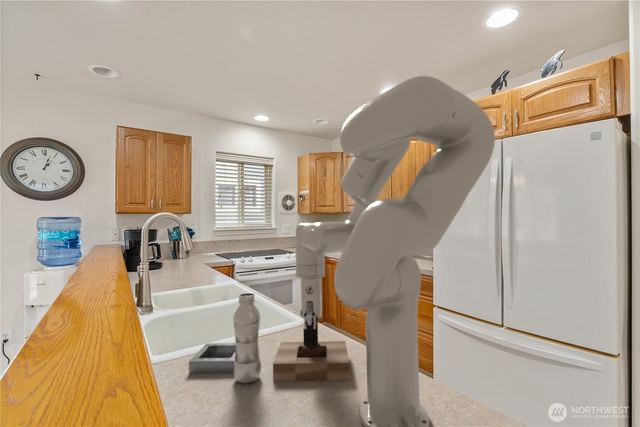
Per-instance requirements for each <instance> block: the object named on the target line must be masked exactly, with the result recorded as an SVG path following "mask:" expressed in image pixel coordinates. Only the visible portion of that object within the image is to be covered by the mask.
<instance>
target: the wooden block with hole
mask: <svg viewBox="0 0 640 427" xmlns="http://www.w3.org/2000/svg"><path fill="white" fill-rule="evenodd" d="M318 344H320V345H321V353H320V355H319V356H318V358H306V356H305V355H304V354H303V346H304V341H280V344H279V345H278V349H277V351H276V355H275V358H274V360H273V363H272V379H273V380H272V381H273V382H289V381H291V382H292V381H293V382H297V381H298V382H300V381H303V382H304V381H305V382H309V381H311V382H312V381H350V380H351V378H350V359H349V354H348V349H347V344H346V341H345V340H343V341H342V340H341V341H340V340H339V341H337V340H335V341H318Z"/></svg>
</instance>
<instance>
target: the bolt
mask: <svg viewBox="0 0 640 427" xmlns="http://www.w3.org/2000/svg"><path fill="white" fill-rule="evenodd" d="M312 308H313V306H312ZM306 315H307V312H306ZM300 316H301V317H302V309H300ZM312 320H313V321H314V319H312ZM318 322H319V317H316V328H317V345H316V346H305V345H304V346H303V354H304V355H305V356H306V358H318V356H319V355H320V353H321V345H320V344H318V342H319V324H318ZM313 326H314V324H313Z"/></svg>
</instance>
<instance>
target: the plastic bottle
mask: <svg viewBox="0 0 640 427" xmlns="http://www.w3.org/2000/svg"><path fill="white" fill-rule="evenodd" d="M255 303H256V299H255V293H253V292H245V293H241V294H239V295H238V304H239V306H238V307H237V308H236V310H235V311H234V314H233V317H232V322H233V328H234V336H235V343H236V351H235V361H234V368H233V372H234V373H233V376H234V379H235V380H236V381H237V382H239V383H241V384H248V383H249V384H250V383H253V382H255V381H257V380H258V379H259V377H260V375H261V372H262V361H261V357H260V347H259V335H260V332H259V330H260V324H261V313H260V311H259V309H258V308H257V306H256V305H255Z"/></svg>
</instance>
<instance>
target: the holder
mask: <svg viewBox="0 0 640 427" xmlns="http://www.w3.org/2000/svg"><path fill="white" fill-rule="evenodd" d="M235 351H236V342H225V343H224V342H223V343H221V342H219V343H217V342H215V343H212V342H211V343H205V345H204V346H202V347H201V349H200V350H199V351H197V353H195V355H194V356H192V357H191V358H190V360H189V361H188V374H190V375H191V374H192V375H193V374H200V375H201V374H234V372H233V368H234V361H235ZM211 357H212V358H211Z"/></svg>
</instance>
